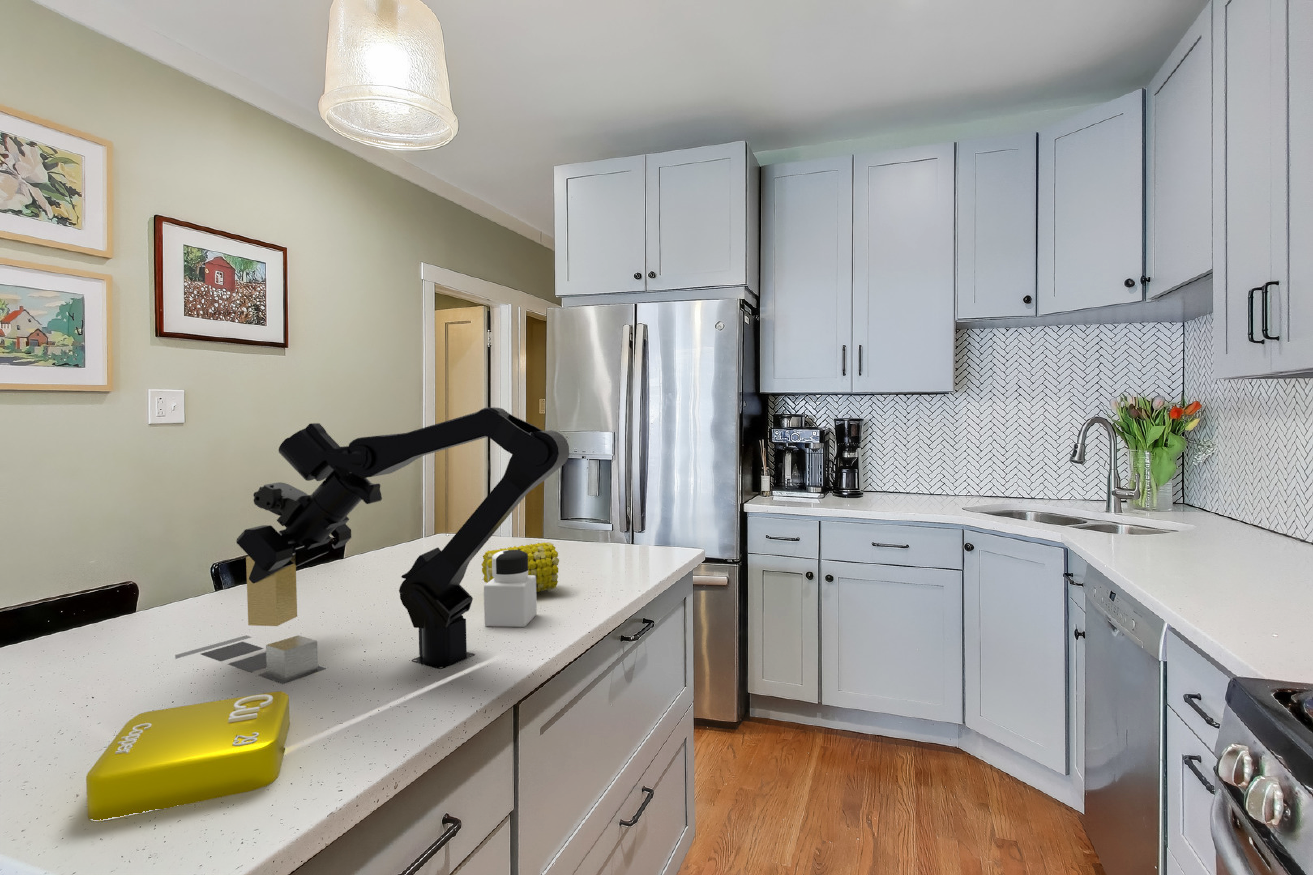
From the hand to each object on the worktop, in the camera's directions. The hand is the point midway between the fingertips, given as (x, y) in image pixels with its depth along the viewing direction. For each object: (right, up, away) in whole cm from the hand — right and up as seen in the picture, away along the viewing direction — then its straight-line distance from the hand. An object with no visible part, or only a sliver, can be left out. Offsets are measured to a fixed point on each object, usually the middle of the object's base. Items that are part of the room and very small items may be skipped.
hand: (263, 576), depth 98 cm
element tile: (+12, -13, -30) cm, 35 cm away
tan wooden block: (+1, -7, 0) cm, 7 cm away
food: (+31, -11, +32) cm, 46 cm away
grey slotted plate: (+1, -12, -3) cm, 12 cm away
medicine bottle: (+33, -11, +16) cm, 39 cm away
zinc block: (+8, -11, -7) cm, 16 cm away
